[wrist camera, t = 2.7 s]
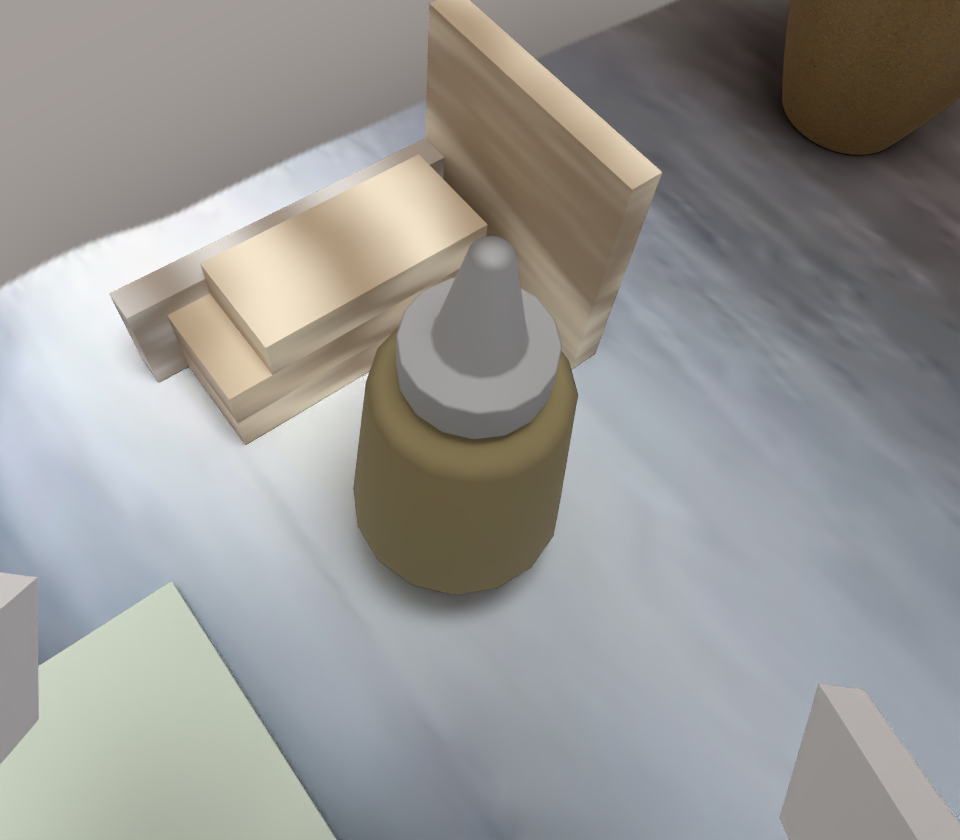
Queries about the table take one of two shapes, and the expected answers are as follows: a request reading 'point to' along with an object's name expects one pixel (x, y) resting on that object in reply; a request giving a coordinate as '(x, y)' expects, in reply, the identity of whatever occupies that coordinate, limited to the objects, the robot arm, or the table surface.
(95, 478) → the table surface
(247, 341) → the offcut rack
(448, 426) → the squeeze bottle
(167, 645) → the sage mat
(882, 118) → the plant pot
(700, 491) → the table surface
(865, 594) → the table surface
